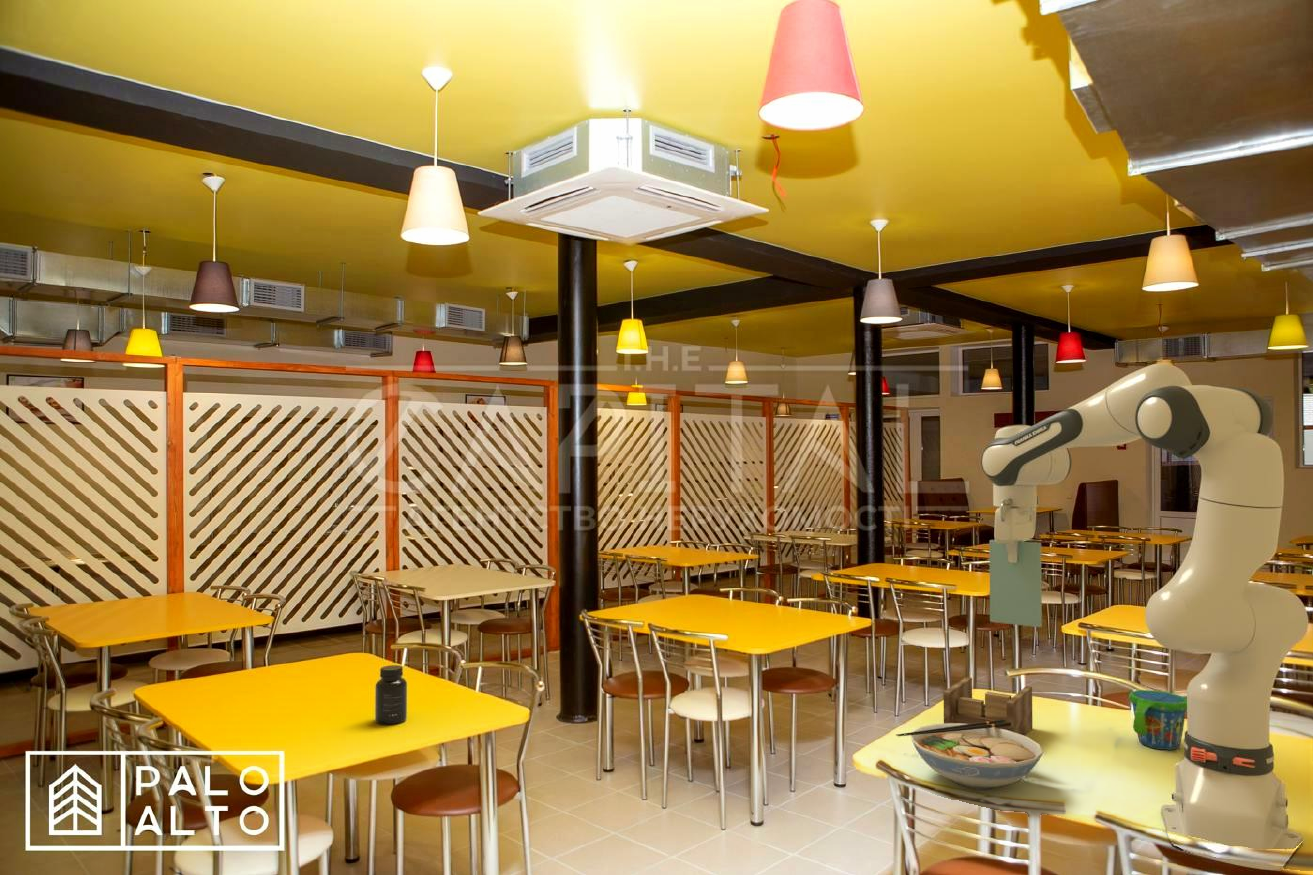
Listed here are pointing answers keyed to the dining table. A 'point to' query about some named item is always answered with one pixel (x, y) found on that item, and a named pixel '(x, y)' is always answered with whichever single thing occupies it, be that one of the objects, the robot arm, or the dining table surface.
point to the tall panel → (1016, 585)
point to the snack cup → (1158, 718)
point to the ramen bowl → (976, 752)
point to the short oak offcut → (971, 706)
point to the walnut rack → (1016, 708)
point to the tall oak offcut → (996, 705)
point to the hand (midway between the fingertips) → (1015, 561)
